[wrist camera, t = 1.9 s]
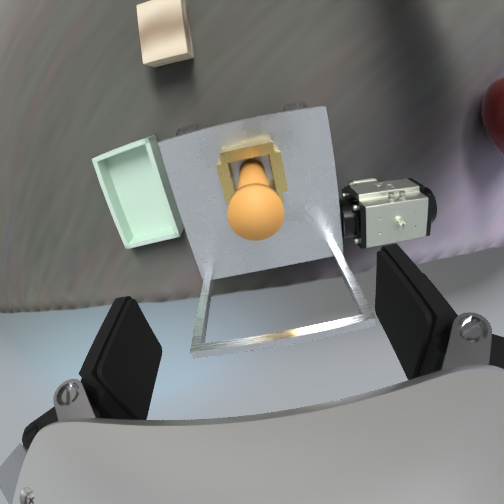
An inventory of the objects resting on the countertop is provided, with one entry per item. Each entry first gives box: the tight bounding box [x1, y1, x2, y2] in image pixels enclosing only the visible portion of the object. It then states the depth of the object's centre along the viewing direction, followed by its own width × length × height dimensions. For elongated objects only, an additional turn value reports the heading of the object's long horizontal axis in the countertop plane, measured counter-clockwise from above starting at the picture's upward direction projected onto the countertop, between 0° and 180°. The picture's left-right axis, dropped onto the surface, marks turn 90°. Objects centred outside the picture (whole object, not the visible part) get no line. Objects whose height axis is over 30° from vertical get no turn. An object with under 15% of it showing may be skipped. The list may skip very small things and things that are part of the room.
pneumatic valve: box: [339, 178, 437, 249], centre depth 32 cm, size 6×12×12 cm, turn 101°
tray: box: [92, 135, 184, 249], centre depth 35 cm, size 13×8×3 cm, turn 12°
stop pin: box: [227, 159, 284, 241], centre depth 22 cm, size 3×3×11 cm
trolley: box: [158, 102, 376, 358], centre depth 27 cm, size 17×16×21 cm
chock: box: [137, 0, 194, 67], centre depth 25 cm, size 8×5×4 cm, turn 7°
